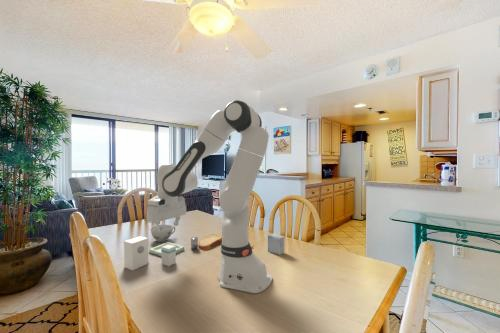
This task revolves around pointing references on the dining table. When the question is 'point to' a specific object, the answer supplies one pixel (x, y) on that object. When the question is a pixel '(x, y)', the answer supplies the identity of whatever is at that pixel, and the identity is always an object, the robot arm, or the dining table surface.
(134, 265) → the cream tall block
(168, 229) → the teacup
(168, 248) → the teal band cartridge
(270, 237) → the medicine box
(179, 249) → the tray
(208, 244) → the bread slice
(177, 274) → the dining table surface
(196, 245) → the cylinder
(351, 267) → the dining table surface
